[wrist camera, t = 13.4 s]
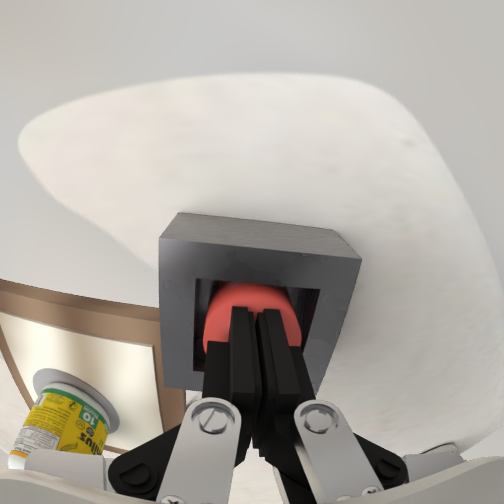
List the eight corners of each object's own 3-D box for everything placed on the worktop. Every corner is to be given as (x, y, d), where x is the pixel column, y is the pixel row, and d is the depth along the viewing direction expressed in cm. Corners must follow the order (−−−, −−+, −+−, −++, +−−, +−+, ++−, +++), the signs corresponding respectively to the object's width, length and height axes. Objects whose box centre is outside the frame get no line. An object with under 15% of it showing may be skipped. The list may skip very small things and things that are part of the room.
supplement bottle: (34, 371, 14) (-24, 479, 5) (102, 390, 14) (58, 525, 6) (57, 419, 16) (21, 514, 7) (118, 436, 16) (94, 546, 7)
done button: (297, 274, 12) (311, 305, 10) (282, 342, 13) (290, 378, 11) (210, 266, 12) (205, 296, 10) (206, 336, 13) (201, 373, 11)
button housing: (332, 229, 13) (362, 258, 10) (302, 350, 16) (316, 395, 12) (178, 212, 13) (158, 238, 9) (175, 340, 15) (164, 386, 12)
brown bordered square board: (185, 311, 14) (180, 328, 13) (188, 454, 20) (187, 468, 18) (-12, 275, 13) (-25, 286, 12) (45, 419, 18) (39, 430, 17)
